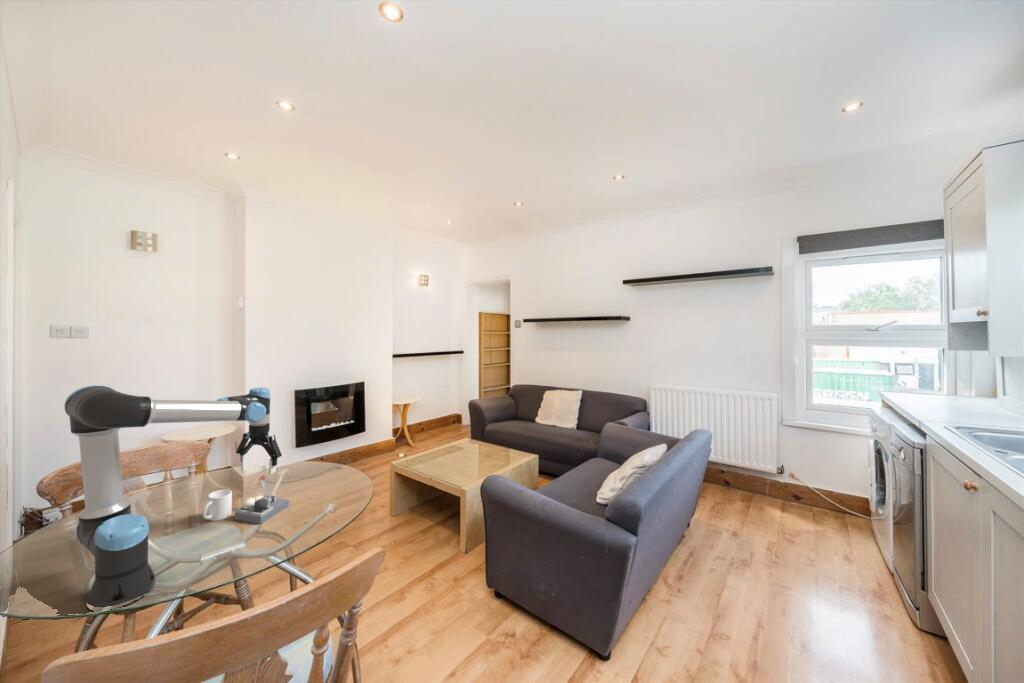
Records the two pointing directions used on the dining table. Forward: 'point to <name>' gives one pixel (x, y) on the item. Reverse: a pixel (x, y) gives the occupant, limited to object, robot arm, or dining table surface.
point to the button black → (260, 505)
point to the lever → (265, 487)
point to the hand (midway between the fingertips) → (258, 471)
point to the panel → (262, 511)
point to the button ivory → (248, 503)
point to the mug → (218, 505)
